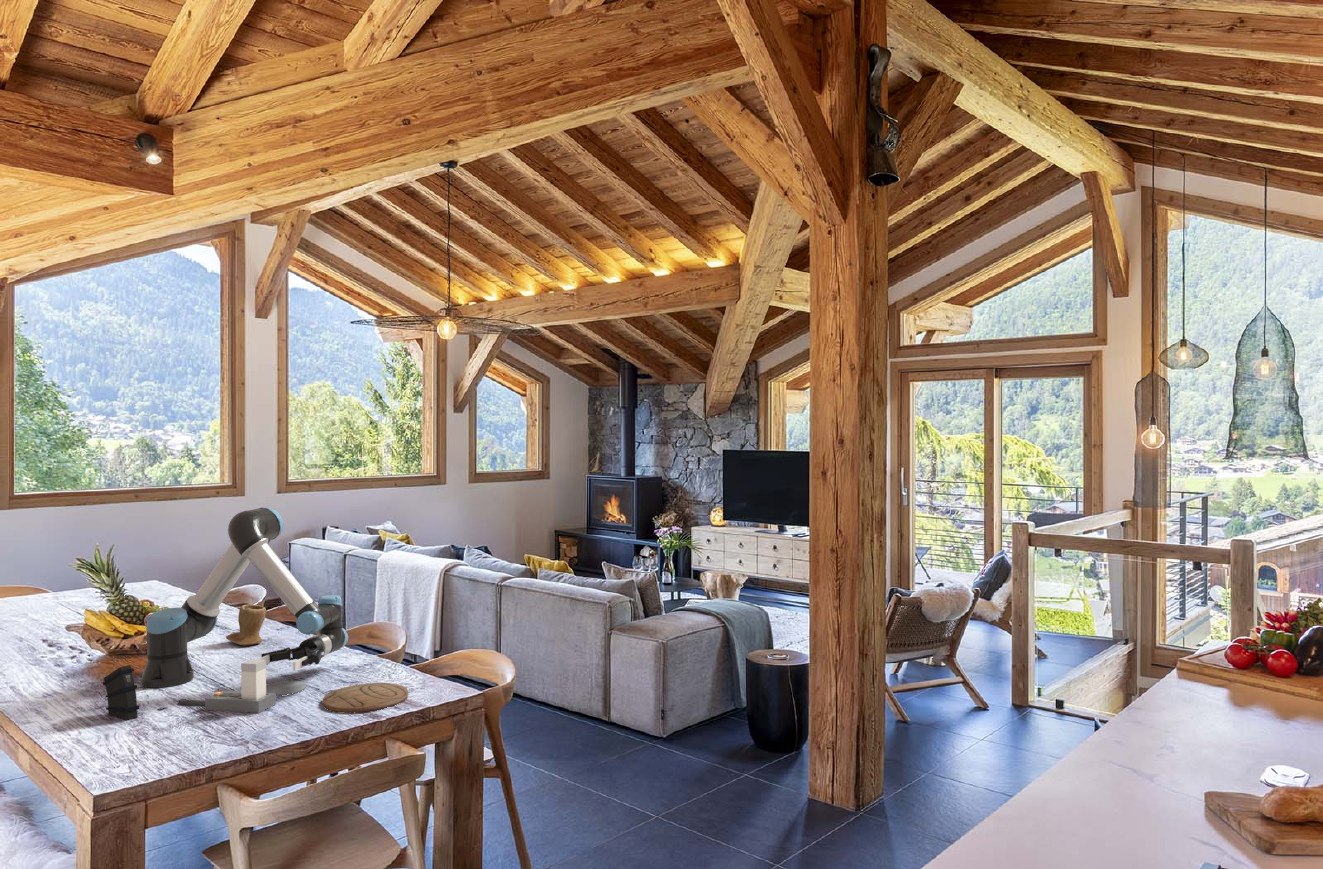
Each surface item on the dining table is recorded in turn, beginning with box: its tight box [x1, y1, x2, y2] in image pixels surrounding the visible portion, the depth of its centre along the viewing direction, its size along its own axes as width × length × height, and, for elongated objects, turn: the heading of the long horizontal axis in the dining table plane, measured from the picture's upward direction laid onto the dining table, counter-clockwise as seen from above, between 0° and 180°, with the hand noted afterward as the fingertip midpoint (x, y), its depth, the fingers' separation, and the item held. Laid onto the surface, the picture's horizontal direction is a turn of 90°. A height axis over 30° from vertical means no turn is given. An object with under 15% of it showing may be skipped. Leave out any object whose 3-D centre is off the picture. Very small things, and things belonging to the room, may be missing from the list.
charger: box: [240, 658, 267, 700], centre depth 257 cm, size 5×4×12 cm
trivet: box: [322, 682, 409, 714], centre depth 264 cm, size 25×25×2 cm
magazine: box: [102, 664, 140, 721], centre depth 251 cm, size 4×13×15 cm, turn 58°
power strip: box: [178, 689, 277, 714], centre depth 259 cm, size 30×8×4 cm, turn 79°
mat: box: [266, 680, 307, 697], centre depth 274 cm, size 14×14×1 cm
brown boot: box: [225, 604, 267, 646], centre depth 337 cm, size 15×12×15 cm
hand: (274, 665), depth 266 cm, fingers open, 13 cm apart
